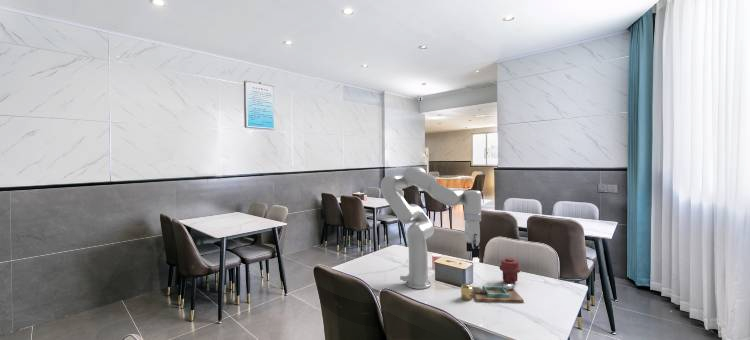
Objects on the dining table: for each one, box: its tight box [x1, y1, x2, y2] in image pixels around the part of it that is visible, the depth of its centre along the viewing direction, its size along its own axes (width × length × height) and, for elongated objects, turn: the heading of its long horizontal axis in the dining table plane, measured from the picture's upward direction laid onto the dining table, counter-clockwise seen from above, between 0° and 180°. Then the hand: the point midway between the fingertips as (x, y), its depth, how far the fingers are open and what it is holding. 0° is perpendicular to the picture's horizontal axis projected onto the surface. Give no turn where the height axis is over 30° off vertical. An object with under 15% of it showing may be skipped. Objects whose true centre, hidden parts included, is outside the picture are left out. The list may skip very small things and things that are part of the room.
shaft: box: [501, 283, 515, 292], centre depth 152 cm, size 5×4×4 cm
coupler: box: [460, 283, 473, 302], centre depth 146 cm, size 5×5×6 cm
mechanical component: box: [499, 257, 522, 285], centre depth 165 cm, size 12×10×10 cm
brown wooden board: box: [472, 285, 525, 304], centre depth 149 cm, size 20×14×4 cm
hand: (472, 254), depth 148 cm, fingers open, 9 cm apart
